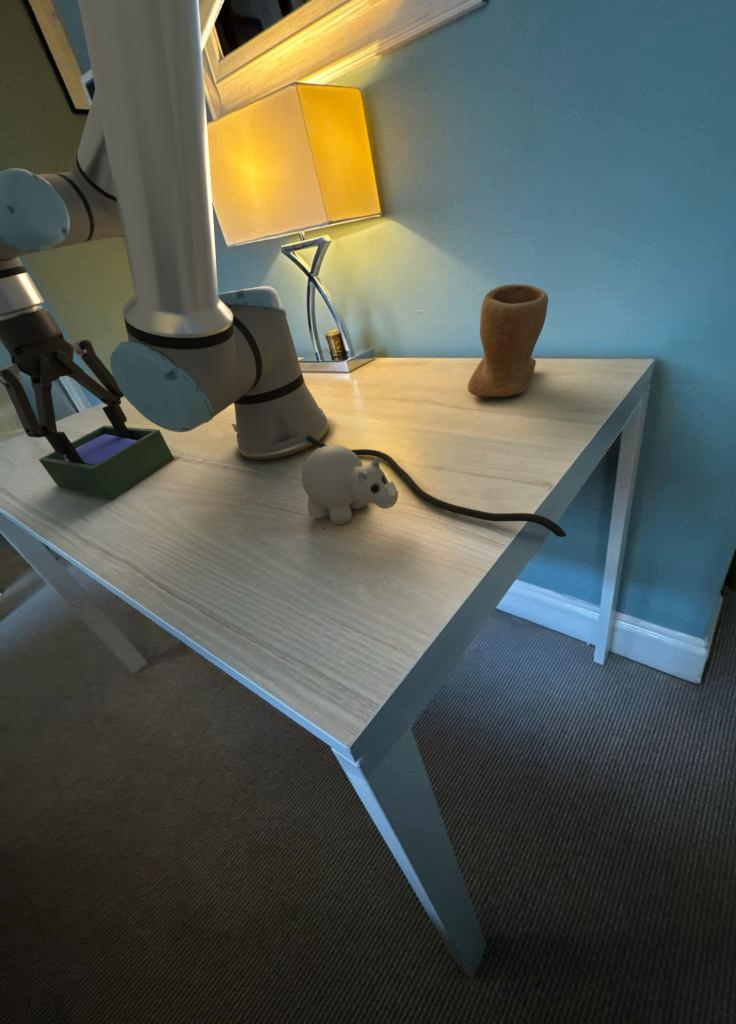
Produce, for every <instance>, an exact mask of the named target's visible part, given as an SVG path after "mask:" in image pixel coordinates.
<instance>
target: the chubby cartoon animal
mask: <svg viewBox="0 0 736 1024" xmlns="http://www.w3.org/2000/svg"><path fill="white" fill-rule="evenodd" d="M351 450H352V449H349V448H348V447H345V446H342V445H338V444H337V445H336V444H328V445H326V446H324V447H321V448H320V447H318V448H317V449H315V450H314V451H313V452H311V454H310V455H309V456H308V457H307V458H306V460H305V461H304V464H303V465H302V470H301V483H302V488H303V490H304V491H305V494H306V495H307V496H308V497H307V511H308V514H309V516H310V517H311V518H313V519H316V520H318V519H323V518H325V517H328V516H329V519H330V521H331V522H332V523H333V524H335V525H344V524H347V523H348V522H350V521H351V520H352V516H353V512H352V510H360V509H362V508H364V507H365V506H366V505H367V504H374V505H375V506H377V507H378V508H381V509H390V508H393V507H394V506H395V505H396V504H397V502H398V497H399V491H398V489H397V487H396V485H395V483H394V482H393V480H390V481H389V479H388V477H387V476H386V474H385V473H384V471H383V470H382V469H381V467H380V458H379V457H376V456H375V458H374V459H373V460H372V461H371V463H369V464H363V463H362V460H361V459H360V458H359V455H356V454H355V453H354V452H352V451H351Z"/></svg>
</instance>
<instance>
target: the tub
mask: <svg viewBox="0 0 736 1024" xmlns="http://www.w3.org/2000/svg"><path fill="white" fill-rule="evenodd" d="M126 427H127V429H128V430H129V432H130V434H131V436H132V437H133V439H134V440H137V441H136V442H134V443H133V444H131V445H129V446H127V447H126V448H124V449H122V450H121V451H119V452H117V453H115V454H114V455H112V456H110V457H109V458H107V459H105V460H103V461H102V462H100V463H98V464H97V465H95V466H92V465H86V464H80V463H74V462H68V461H65V459H64V458H63V456H64V455H60V454H58V453H56V452H55V450H54V451H52V452H50V453H48V454H47V455H45V456H42V457H41V458H39V459H38V461H39V463H41V465H42V467H44V469H45V471H46V472H47V473H48V475H49V476H50V477H51V479H52V480H53V482H54V483H55V484H56V486H57V488H61V489H65V490H69V491H73V492H78V493H82V494H86V495H91V496H95V497H100V498H103V499H104V498H105V499H108V500H114V499H115V498H117V497H119V496H120V495H121V494H123V493H124V492H126V491H128V490H129V489H130V488H133V487H134V486H135V485H136V484H138V483H140V482H141V481H142V480H144V479H146V478H147V477H149V476H150V475H152V474H154V473H155V472H156V471H158V470H159V469H161V468H162V467H164V466H166V465H167V464H169V463H170V462H171V461H173V460H175V457H174V456H173V453H172V452H171V450H170V448H169V446H168V444H167V442H166V440H165V438H164V436H163V434H162V432H161V431H160V429H154V428H144V427H143V428H141V427H129V426H126ZM104 434H106V435H112V436H117V437H119V436H118V434H117V433H116V431H115V429H114V428H113V426H112V425H102V426H100V427H98V428H96V429H94V430H92V431H91V432H88V433H87V434H84V435H83V436H80V437H79V438H77V439H75V440H73V441H70V442H71V444H72V445H73V447H74V448H75V449H76V448H78V447H80V446H82V445H84V444H86V443H88V442H90V441H92V440H94V439H96V438H98V437H100V436H101V435H104Z"/></svg>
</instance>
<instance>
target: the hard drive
mask: <svg viewBox="0 0 736 1024" xmlns="http://www.w3.org/2000/svg"><path fill="white" fill-rule="evenodd" d="M136 441H137V440H132V439H127V438H122V437H117V436H112V435H106V434H104V435H101V436H100V437H98V438H96V439H94V440H92V441H90V442H88V443H86V444H84V445H82V446H80V447H78V448H76V449H75V450H76V451H77V453H78V454H79V456H80V457H81V459H82V460H83V462H84V463H85V464H86V465H92V466H95V465H97V464H98V463H100V462H102V461H103V460H105V459H107V458H109V457H110V456H112V455H114V454H115V453H117V452H119V451H121V450H122V449H124V448H126V447H127V446H129V445H131V444H133V443H134V442H136ZM63 458H64V459H65V461H68V462H70V461H69V460H68V458H67V457H66V455H64V456H63Z"/></svg>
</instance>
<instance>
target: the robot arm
mask: <svg viewBox="0 0 736 1024" xmlns="http://www.w3.org/2000/svg"><path fill="white" fill-rule="evenodd" d="M77 1H78V6H79V11H80V18H81V22H82V26H83V32H84V37H85V42H86V43H85V44H86V49H87V53H88V58H89V63H90V69H91V73H92V79H93V85H94V92H93V97H92V100H91V103H90V108H89V110H88V114H87V118H86V121H85V124H84V128H83V132H82V136H81V139H80V142H79V146H78V149H77V153H76V156H75V159H74V163H73V166H72V169H71V170H70V171H66V172H65V171H64V172H51V173H39V174H36V173H33V172H31V171H29V170H27V169H25V168H18V167H12V168H7V169H5V170H1V171H0V342H1V344H2V346H3V347H4V348H5V350H6V351H7V353H9V356H10V357H11V358H10V359H11V363H10V364H9V365H7V366H5V367H4V368H1V369H0V383H1V384H2V385H3V387H4V388H5V390H6V392H7V395H8V397H9V398H10V401H11V403H12V405H13V407H14V409H15V412H16V414H17V417H18V418H19V421H20V423H21V426H22V427H23V430H24V432H25V434H26V436H28V437H30V438H37V439H40V438H45V439H46V440H47V442H48V443H49V445H50V446H51V447H52V449H53V450H54V451H55V452H56V453H58V454H60V455H66V457H67V458H68V460H69V461H70V462H74V463H80V464H85V463H84V462H83V460H82V459H81V457H80V456H79V454H78V453H77V451H76V450H75V448H74V447H73V445H72V444H71V442H72V441H71V440H70V439H69V437H68V436H67V434H66V433H65V432H64V431H58V428H57V421H56V415H55V414H56V413H55V407H54V401H53V395H52V389H53V383H54V382H55V381H57V380H59V378H61V377H69V378H71V379H72V380H74V381H75V382H76V383H77V384H79V385H80V386H81V387H83V388H84V389H85V390H86V391H88V392H89V393H90V394H92V395H93V396H94V397H95V398H97V399H98V400H99V401H101V402H102V403H103V404H104V405H105V406H103V407H102V408H101V409H102V411H103V413H104V414H105V416H106V417H107V419H108V421H109V423H110V425H111V426H113V428H114V429H115V431H116V433H117V434H118V436H119V437H122V438H127V439H132V440H134V439H133V437H132V436H131V434H130V432H129V430H128V429H127V427H128V426H127V425H126V422H128V419H127V416H126V414H125V413H124V411H123V409H122V407H121V404H122V398H123V397H125V399H126V400H127V401H128V403H130V405H131V406H132V407H133V408H135V410H136V411H137V412H138V413H140V414H141V415H142V416H143V417H144V418H146V419H147V420H148V421H149V422H151V423H152V424H154V425H156V426H158V427H160V428H162V429H164V430H167V431H170V432H173V433H174V432H175V433H186V432H191V431H193V430H194V429H196V428H198V427H200V426H202V425H204V424H207V423H209V422H211V421H212V420H213V419H214V417H215V416H217V415H218V414H220V413H222V412H223V411H224V410H226V409H227V408H228V407H231V405H233V406H234V413H235V424H234V423H231V425H232V428H233V430H234V432H235V433H236V443H237V445H238V446H237V447H238V448H239V452H240V453H241V455H242V456H243V457H245V458H246V459H249V460H254V461H272V460H273V461H274V460H278V459H283V458H287V457H291V456H294V455H296V454H297V455H298V454H299V453H302V452H304V451H306V450H308V449H310V448H312V447H314V446H315V447H318V448H321V447H324V446H327V445H326V443H324V442H322V441H321V440H323V439H324V438H325V437H326V435H327V434H328V432H329V429H330V427H329V422H328V419H327V418H328V417H327V416H326V414H325V412H324V411H323V409H322V408H321V407H319V405H318V403H317V401H316V400H315V397H313V394H312V393H311V391H310V390H309V388H308V386H307V384H306V382H305V379H304V375H303V372H302V367H301V364H300V360H299V357H298V353H297V350H296V346H295V343H294V339H293V337H292V332H291V329H290V326H289V323H288V318H287V312H286V309H284V306H283V303H282V301H281V297H280V295H279V293H278V291H277V290H276V289H275V288H273V287H272V286H268V285H262V286H257V287H250V288H244V289H239V290H232V291H226V292H219V287H218V286H219V285H218V273H217V272H218V271H217V258H216V257H217V256H216V243H215V242H216V241H215V240H216V239H215V227H214V211H213V198H212V197H213V195H212V183H211V181H212V180H211V168H210V167H211V166H210V165H211V164H210V154H209V153H210V151H209V138H208V136H209V135H208V123H207V107H206V106H207V105H206V91H205V77H204V63H203V50H204V48H205V47H206V44H207V41H208V39H209V37H210V35H211V32H212V30H213V27H214V26H215V23H216V20H217V18H218V16H219V14H220V11H221V9H222V6H223V4H224V2H225V0H77ZM122 237H123V239H124V246H125V250H126V255H127V261H128V265H129V266H128V267H129V271H130V276H131V277H130V278H131V282H132V287H133V292H134V293H133V296H132V297H130V299H129V300H128V301H127V302H126V303H125V304H124V306H123V308H122V315H123V320H124V325H125V329H126V334H127V341H121V342H119V343H118V344H117V346H116V347H115V348H114V350H113V351H112V352H111V353H110V357H109V366H110V370H109V369H108V368H107V367H106V365H105V364H104V362H102V360H101V359H100V357H99V356H98V355H97V354H96V351H95V349H94V347H93V344H92V342H91V340H89V339H78V340H76V341H74V342H71V341H69V340H68V339H66V337H65V336H64V334H63V331H62V329H61V327H60V326H59V324H58V322H57V321H56V319H55V317H54V315H53V314H52V312H51V310H50V309H48V308H47V307H45V308H44V307H43V305H44V304H45V300H44V298H43V297H42V295H41V293H40V292H39V290H38V288H37V286H36V284H35V283H34V281H33V279H32V278H31V276H30V275H29V273H28V271H27V269H26V268H25V266H24V264H23V262H22V260H21V259H20V257H23V256H27V255H32V254H36V253H40V252H41V253H42V252H45V251H50V250H55V249H60V248H64V247H68V246H75V245H78V244H79V245H80V244H84V243H88V242H93V241H99V240H104V239H111V238H122ZM74 352H75V354H76V355H77V356H79V357H80V358H81V360H82V361H83V363H85V365H86V366H87V367H88V369H90V371H91V372H92V373H93V374H94V375H95V377H96V378H97V379H98V381H99V382H100V383H99V382H97V381H96V380H95V379H94V378H92V377H91V376H90V375H89V374H87V373H86V372H85V370H84V368H82V367H81V366H80V365H78V364H77V363H76V362H75V361H74ZM110 371H111V372H110ZM20 372H21V373H23V374H25V375H27V376H29V377H30V384H31V387H32V390H33V393H34V399H35V405H36V411H37V416H36V413H35V411H34V409H33V406H32V404H31V402H30V400H29V397H28V395H27V393H26V390H25V387H24V385H23V384H22V383H21V381H20V380H21V376H20ZM37 417H38V418H37ZM350 450H351V451H352V452H354V453H355V454H356V455H357V456H372V457H375V458H376V457H378V458H379V459H381V460H383V461H385V463H387V464H388V465H389V466H390V468H392V470H394V472H395V473H396V474H397V475H398V476H399V477H400V478H402V480H403V481H404V482H405V483H406V484H407V486H408V487H409V488H410V489H411V490H412V491H413V493H414V494H415V495H417V496H418V498H420V499H422V500H423V501H425V502H426V503H428V504H430V505H431V506H434V507H436V508H438V509H441V510H443V511H447V512H450V513H453V514H457V515H461V516H465V517H469V518H474V519H478V520H483V521H488V522H527V523H533V524H536V525H540V526H542V527H544V528H546V529H548V530H549V531H550V532H552V533H553V534H554V535H555V536H556V537H558V538H564V537H566V536H567V533H566V531H565V530H564V529H562V528H561V526H560V525H558V524H557V523H556V522H554V521H553V520H551V519H550V518H547V517H545V516H543V515H539V514H536V513H529V512H509V513H507V512H506V513H498V512H497V513H496V512H487V511H482V510H477V509H473V508H468V507H464V506H460V505H456V504H452V503H449V502H446V501H444V500H442V499H439V498H436V497H434V496H432V495H431V494H429V493H427V492H426V491H424V490H423V489H422V488H421V487H420V486H419V485H418V483H416V482H415V481H414V480H413V478H412V477H411V475H409V473H407V472H406V471H405V470H404V469H403V468H402V467H401V466H400V465H399V464H398V463H397V462H396V461H395V460H394V459H393V458H392V457H391V456H389V454H387V453H384V452H382V451H379V450H376V449H369V448H368V449H367V448H362V449H361V448H359V449H350Z"/></svg>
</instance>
